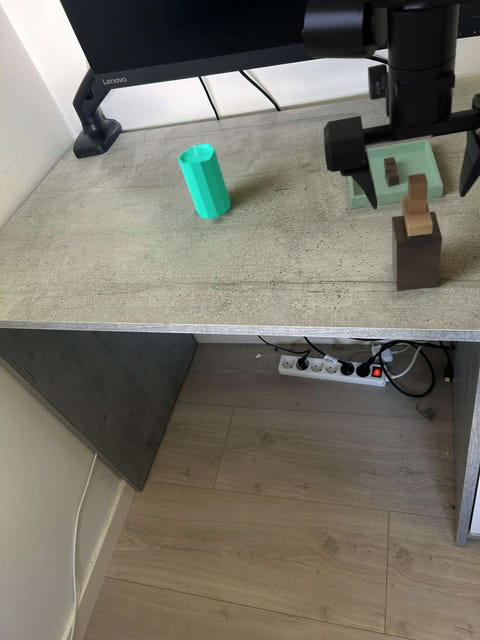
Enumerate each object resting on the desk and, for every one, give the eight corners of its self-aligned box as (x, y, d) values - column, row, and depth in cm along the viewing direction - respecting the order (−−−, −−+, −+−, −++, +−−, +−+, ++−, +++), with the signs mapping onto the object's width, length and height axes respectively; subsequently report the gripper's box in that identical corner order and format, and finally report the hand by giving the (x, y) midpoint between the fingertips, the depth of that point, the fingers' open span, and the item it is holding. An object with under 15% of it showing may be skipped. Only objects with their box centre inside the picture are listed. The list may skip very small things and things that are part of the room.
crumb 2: (397, 172, 78) (397, 164, 77) (395, 178, 77) (395, 170, 76) (386, 173, 79) (386, 164, 77) (385, 178, 78) (384, 170, 76)
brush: (401, 212, 60) (401, 165, 55) (423, 209, 59) (426, 161, 54) (407, 244, 56) (408, 196, 51) (431, 242, 55) (435, 193, 50)
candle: (201, 223, 82) (178, 160, 74) (194, 204, 86) (172, 142, 78) (234, 211, 82) (215, 146, 74) (226, 193, 86) (207, 130, 78)
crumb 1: (393, 165, 79) (393, 156, 78) (395, 170, 78) (395, 161, 77) (383, 167, 80) (383, 158, 79) (385, 172, 79) (385, 163, 78)
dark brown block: (431, 260, 64) (435, 211, 59) (438, 287, 61) (442, 237, 55) (392, 264, 66) (391, 216, 60) (396, 291, 62) (396, 243, 56)
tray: (428, 149, 81) (428, 138, 79) (442, 196, 72) (443, 185, 71) (346, 162, 84) (346, 152, 83) (351, 208, 75) (350, 198, 74)
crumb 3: (396, 179, 77) (396, 170, 76) (399, 184, 76) (399, 175, 75) (386, 181, 77) (385, 172, 76) (388, 187, 76) (388, 178, 75)
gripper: (511, 1, 47) (490, 149, 58) (315, 45, 51) (331, 174, 62) (549, 46, 39) (516, 205, 51) (316, 93, 44) (334, 229, 55)
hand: (417, 201), depth 55 cm, fingers open, 9 cm apart
